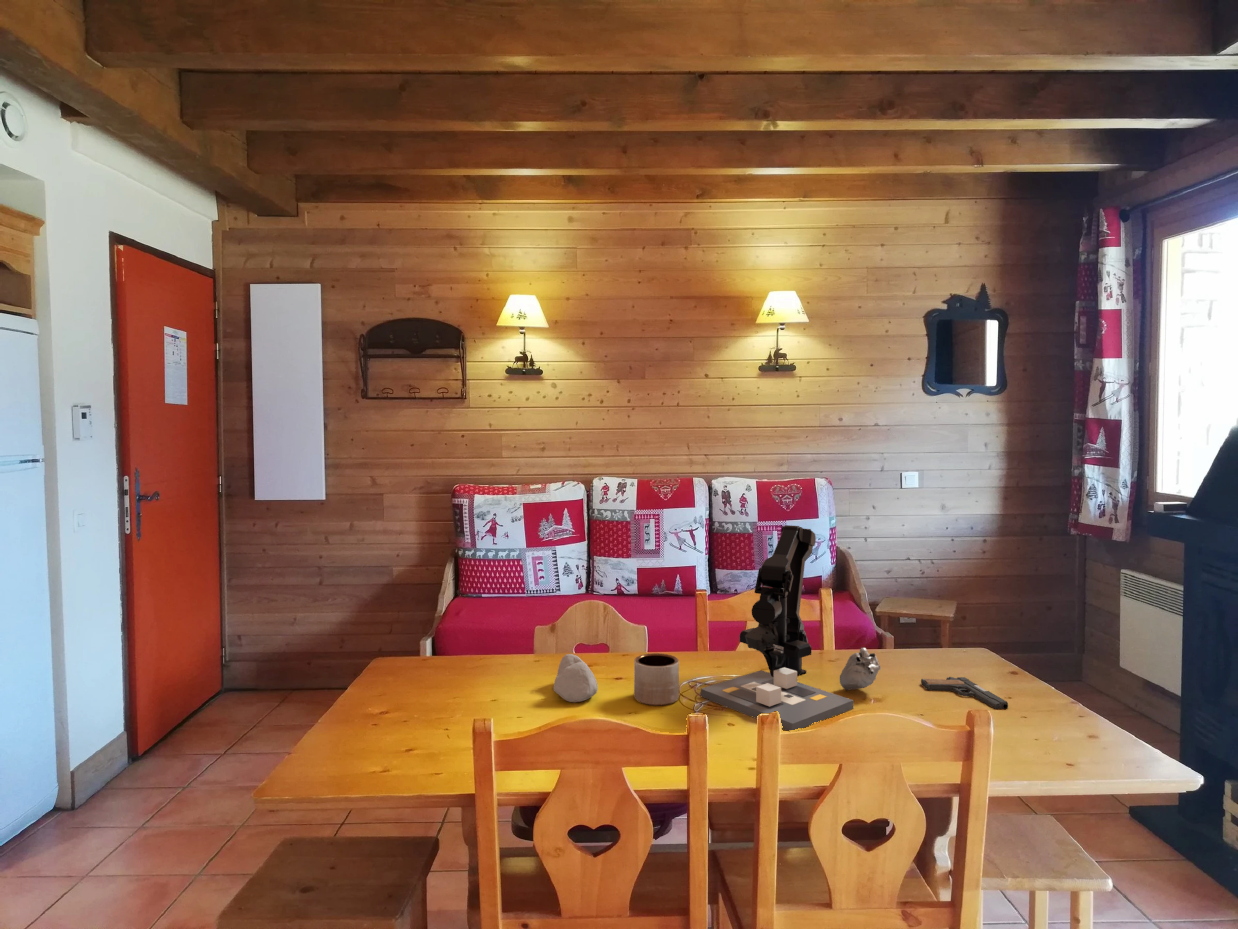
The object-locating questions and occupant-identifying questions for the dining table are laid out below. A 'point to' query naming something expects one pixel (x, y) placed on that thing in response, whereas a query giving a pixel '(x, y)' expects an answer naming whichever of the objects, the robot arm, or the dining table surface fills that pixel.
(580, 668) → the decorative stone
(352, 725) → the dining table surface
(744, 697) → the switch board
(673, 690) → the planter
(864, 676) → the heart
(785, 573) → the robot arm
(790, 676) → the peach cube
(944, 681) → the handgun
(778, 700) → the block
